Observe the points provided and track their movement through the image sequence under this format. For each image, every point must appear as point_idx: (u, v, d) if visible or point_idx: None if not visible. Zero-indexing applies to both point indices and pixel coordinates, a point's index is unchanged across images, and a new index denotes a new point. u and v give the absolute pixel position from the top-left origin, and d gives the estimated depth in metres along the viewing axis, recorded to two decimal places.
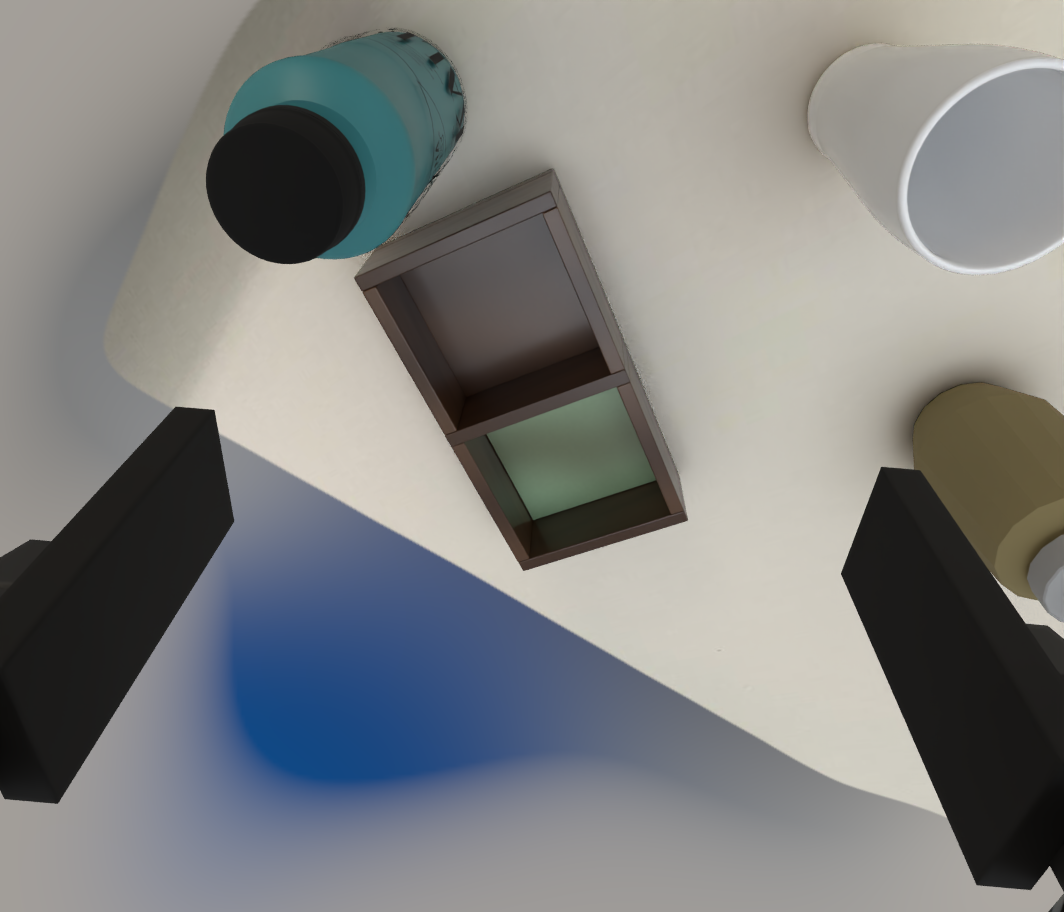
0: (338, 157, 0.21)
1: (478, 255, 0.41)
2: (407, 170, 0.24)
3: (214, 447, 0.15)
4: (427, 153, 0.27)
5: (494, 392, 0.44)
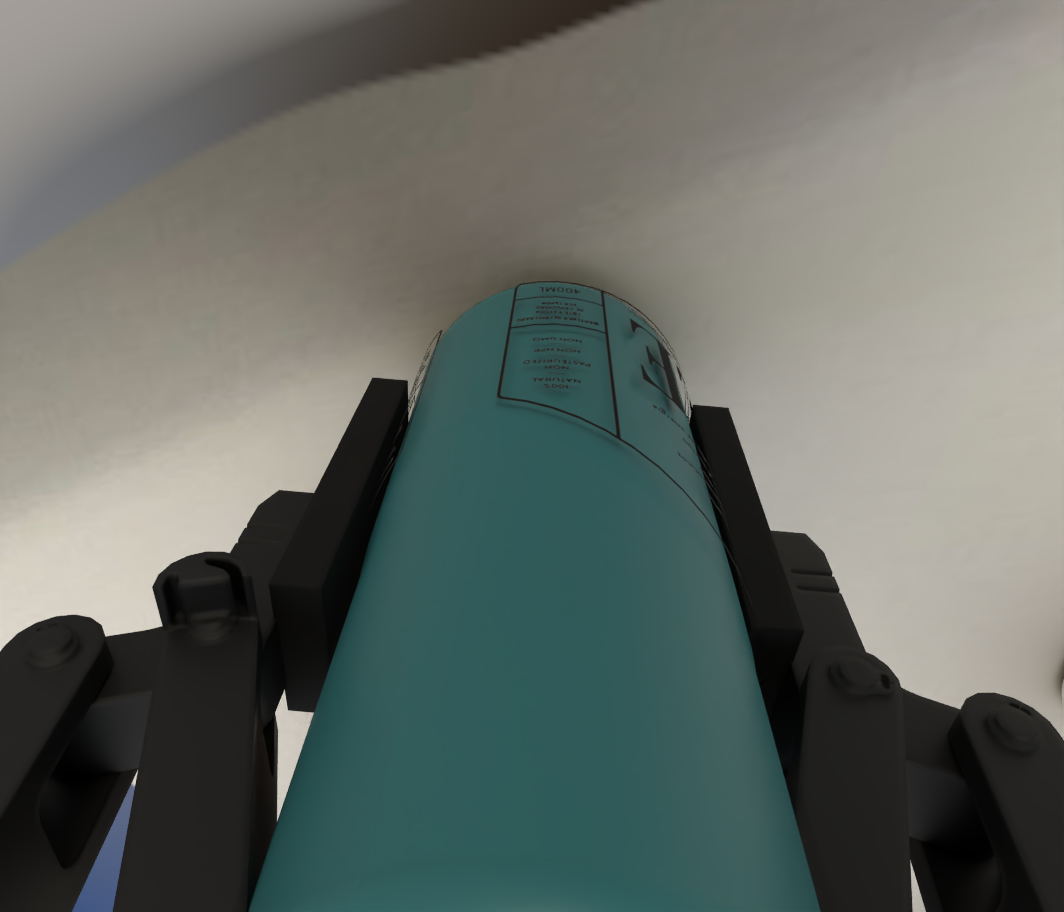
0: None
1: None
2: None
3: (405, 414, 0.16)
4: None
5: None
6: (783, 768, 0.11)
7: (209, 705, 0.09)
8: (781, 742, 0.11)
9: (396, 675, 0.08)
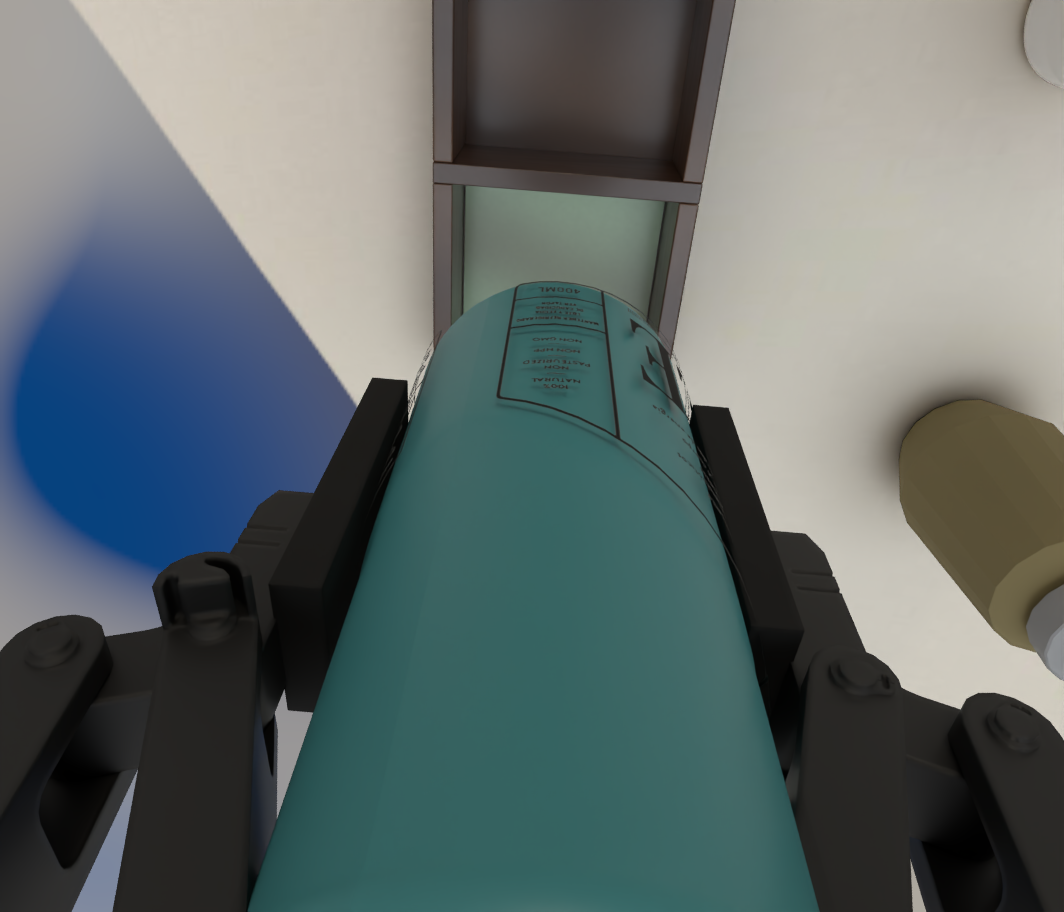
0: None
1: None
2: None
3: (405, 414, 0.16)
4: None
5: (508, 151, 0.33)
6: (783, 768, 0.11)
7: (209, 705, 0.09)
8: (781, 742, 0.11)
9: (394, 676, 0.08)
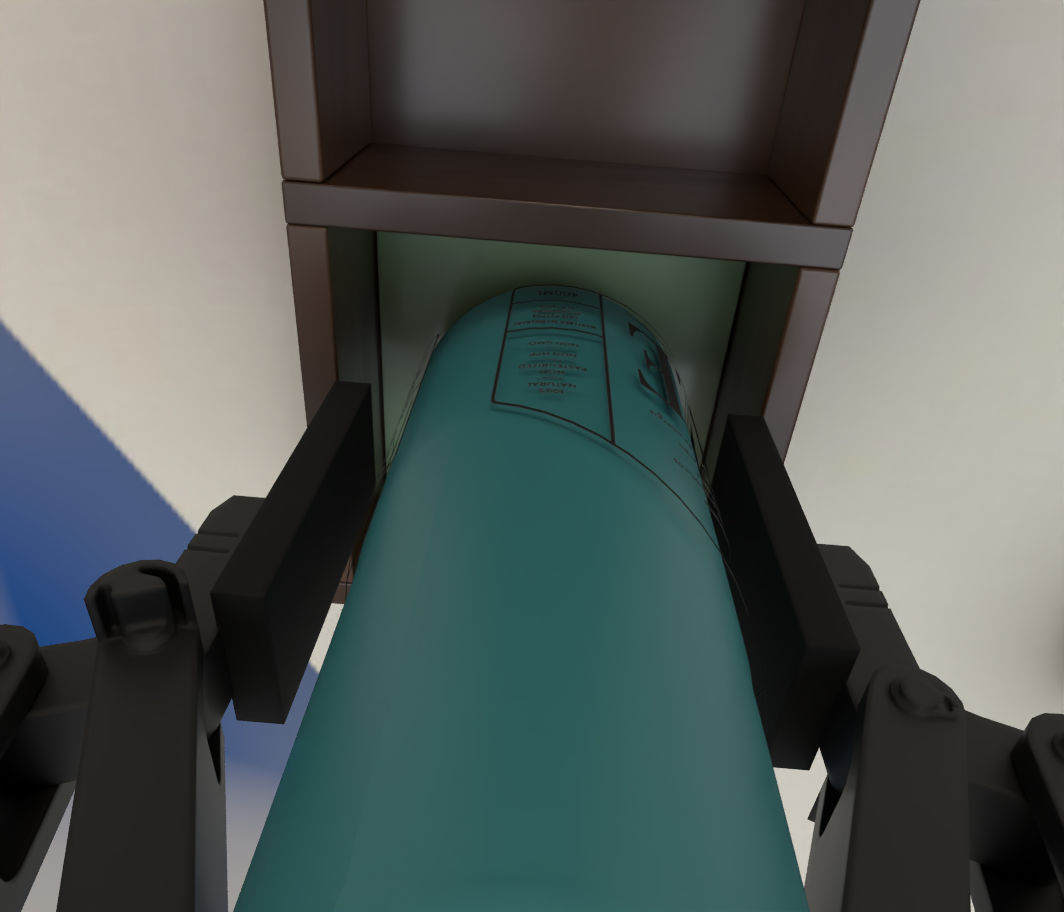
0: None
1: None
2: None
3: (369, 417, 0.16)
4: None
5: (452, 157, 0.17)
6: (837, 786, 0.11)
7: (149, 716, 0.09)
8: (836, 760, 0.11)
9: (381, 686, 0.08)
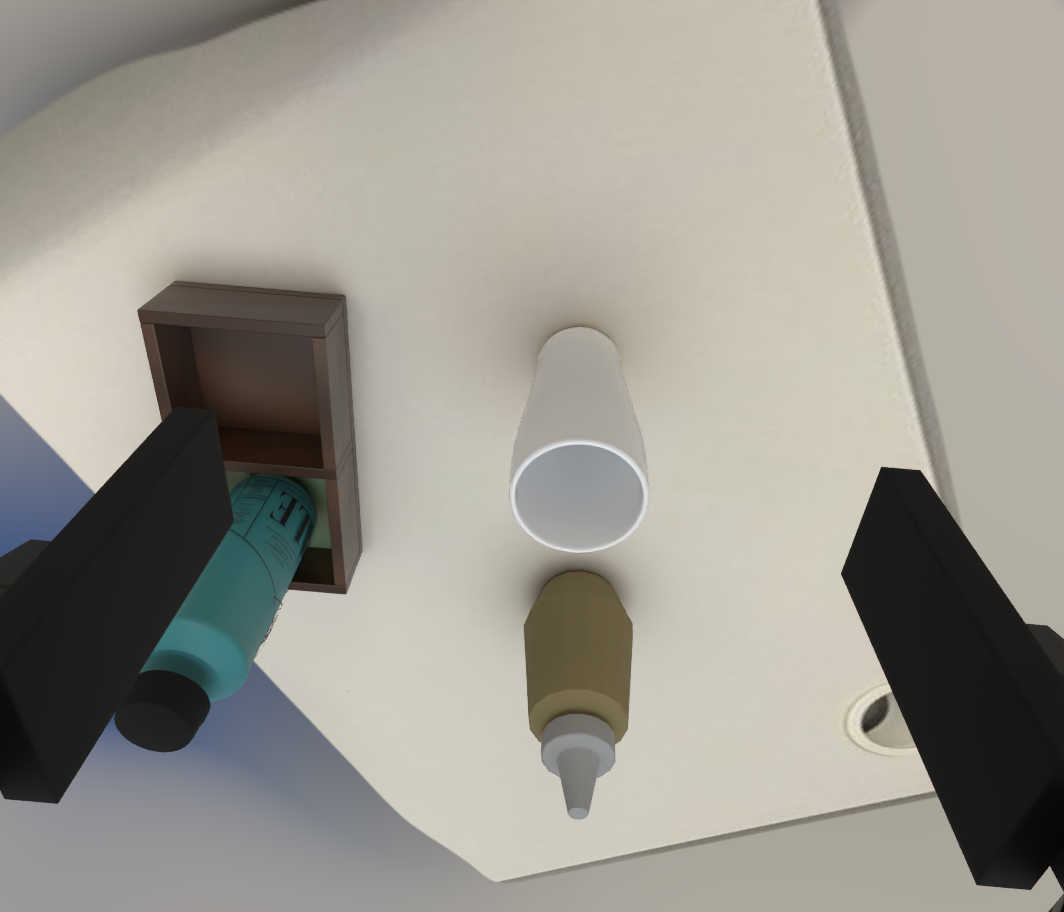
0: (197, 718, 0.38)
1: None
2: (239, 684, 0.42)
3: (214, 447, 0.15)
4: None
5: (231, 434, 0.51)
6: None
7: None
8: None
9: None
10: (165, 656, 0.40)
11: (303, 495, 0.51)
